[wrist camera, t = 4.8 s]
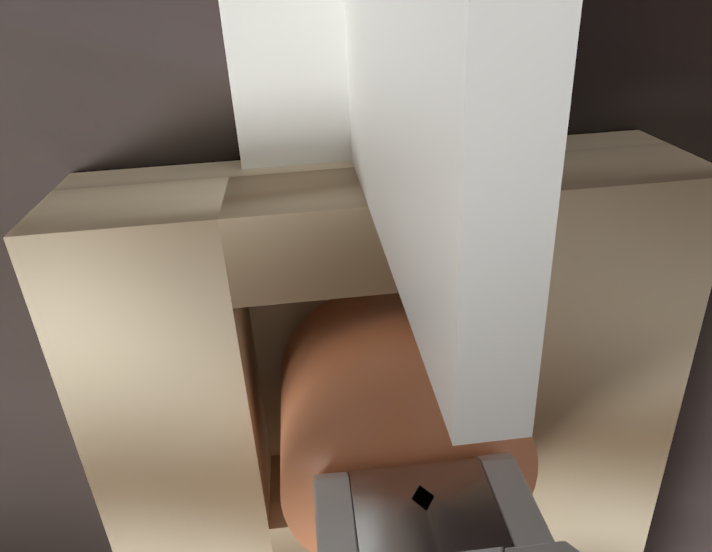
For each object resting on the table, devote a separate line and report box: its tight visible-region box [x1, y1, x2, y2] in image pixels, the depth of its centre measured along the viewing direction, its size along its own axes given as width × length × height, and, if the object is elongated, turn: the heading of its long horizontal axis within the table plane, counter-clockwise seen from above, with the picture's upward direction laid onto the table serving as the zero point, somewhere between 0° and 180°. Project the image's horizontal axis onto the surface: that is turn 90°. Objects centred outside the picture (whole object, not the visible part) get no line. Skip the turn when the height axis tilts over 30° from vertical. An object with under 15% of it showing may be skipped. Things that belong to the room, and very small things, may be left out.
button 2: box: [280, 293, 538, 552], centre depth 11 cm, size 4×4×3 cm
